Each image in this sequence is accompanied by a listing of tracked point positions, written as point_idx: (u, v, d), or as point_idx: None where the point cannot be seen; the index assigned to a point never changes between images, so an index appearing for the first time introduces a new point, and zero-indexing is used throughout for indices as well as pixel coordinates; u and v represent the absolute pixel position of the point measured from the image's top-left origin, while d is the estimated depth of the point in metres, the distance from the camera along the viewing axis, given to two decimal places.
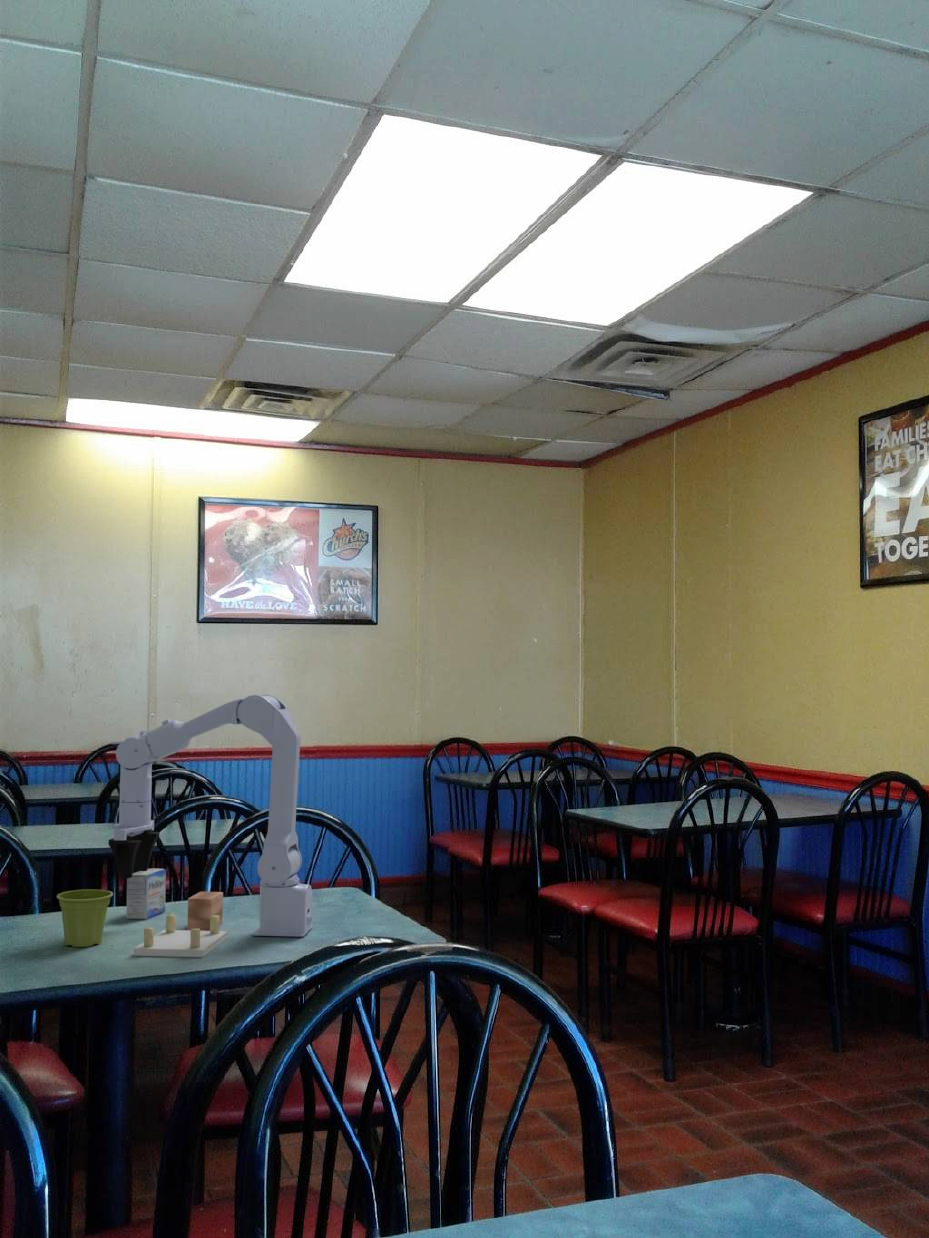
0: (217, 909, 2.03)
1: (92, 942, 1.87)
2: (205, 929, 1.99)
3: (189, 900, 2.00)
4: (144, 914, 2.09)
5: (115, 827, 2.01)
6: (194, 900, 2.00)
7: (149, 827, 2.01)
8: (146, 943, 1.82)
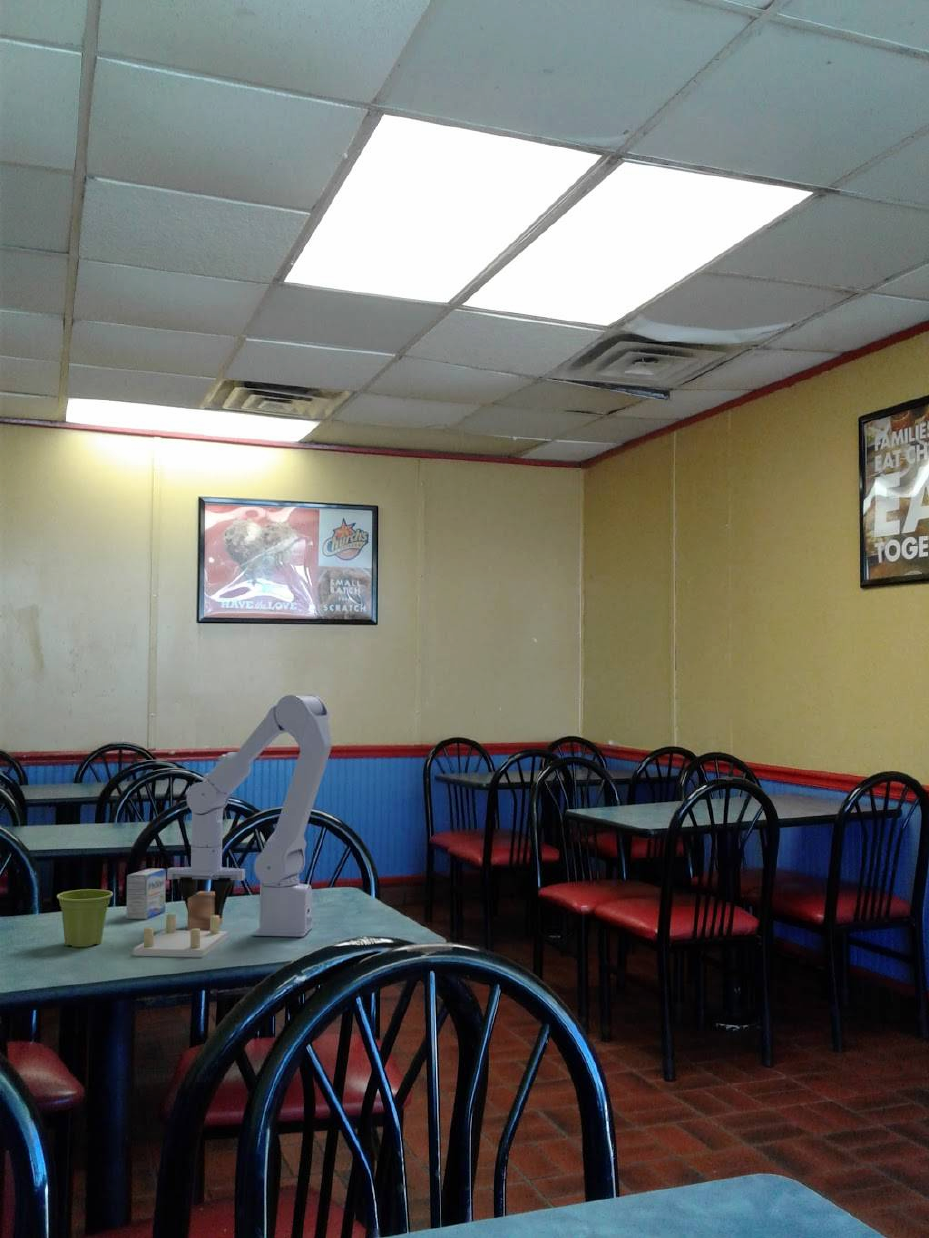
0: None
1: (92, 942, 1.87)
2: (205, 928, 1.99)
3: (189, 899, 2.00)
4: (144, 914, 2.09)
5: None
6: (194, 899, 2.00)
7: (198, 873, 2.01)
8: (146, 943, 1.82)
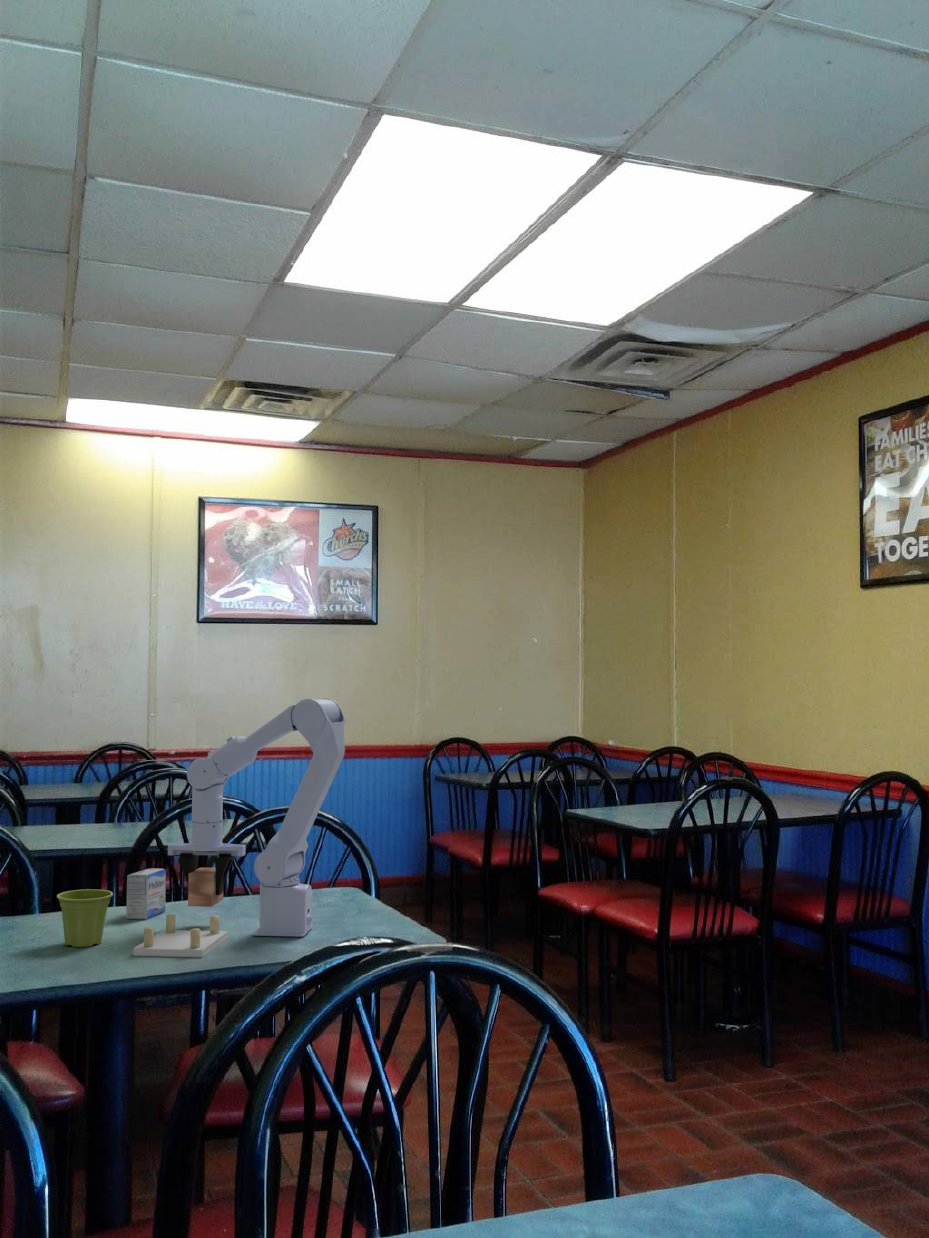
0: None
1: (92, 942, 1.87)
2: (206, 904, 2.00)
3: (190, 875, 2.00)
4: (144, 914, 2.09)
5: None
6: (195, 875, 2.00)
7: (199, 849, 2.01)
8: (146, 943, 1.82)
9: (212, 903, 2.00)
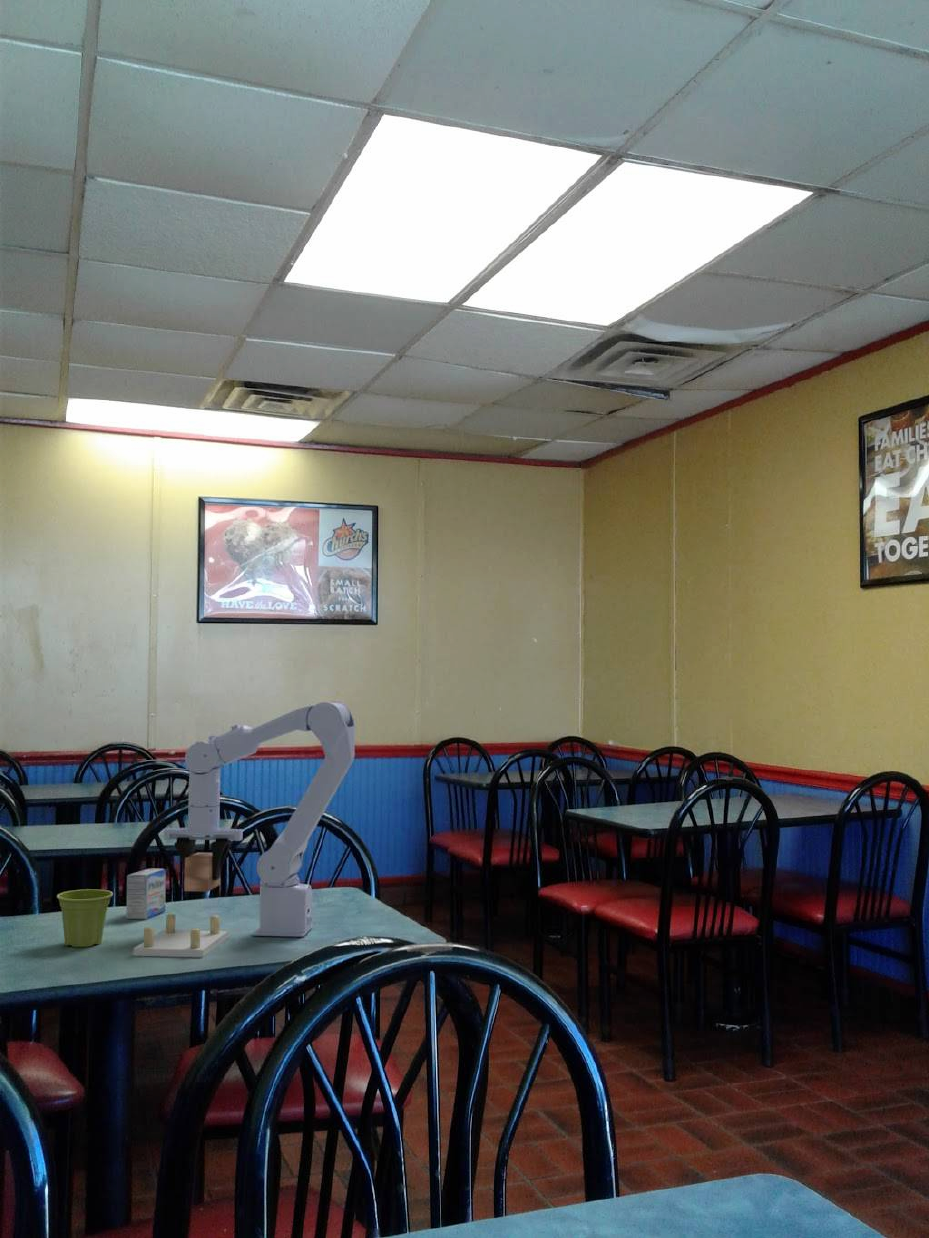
0: None
1: (92, 942, 1.87)
2: (202, 889, 1.97)
3: (186, 859, 1.98)
4: (144, 914, 2.09)
5: None
6: (191, 859, 1.98)
7: (196, 833, 1.99)
8: (146, 943, 1.82)
9: (209, 888, 1.98)
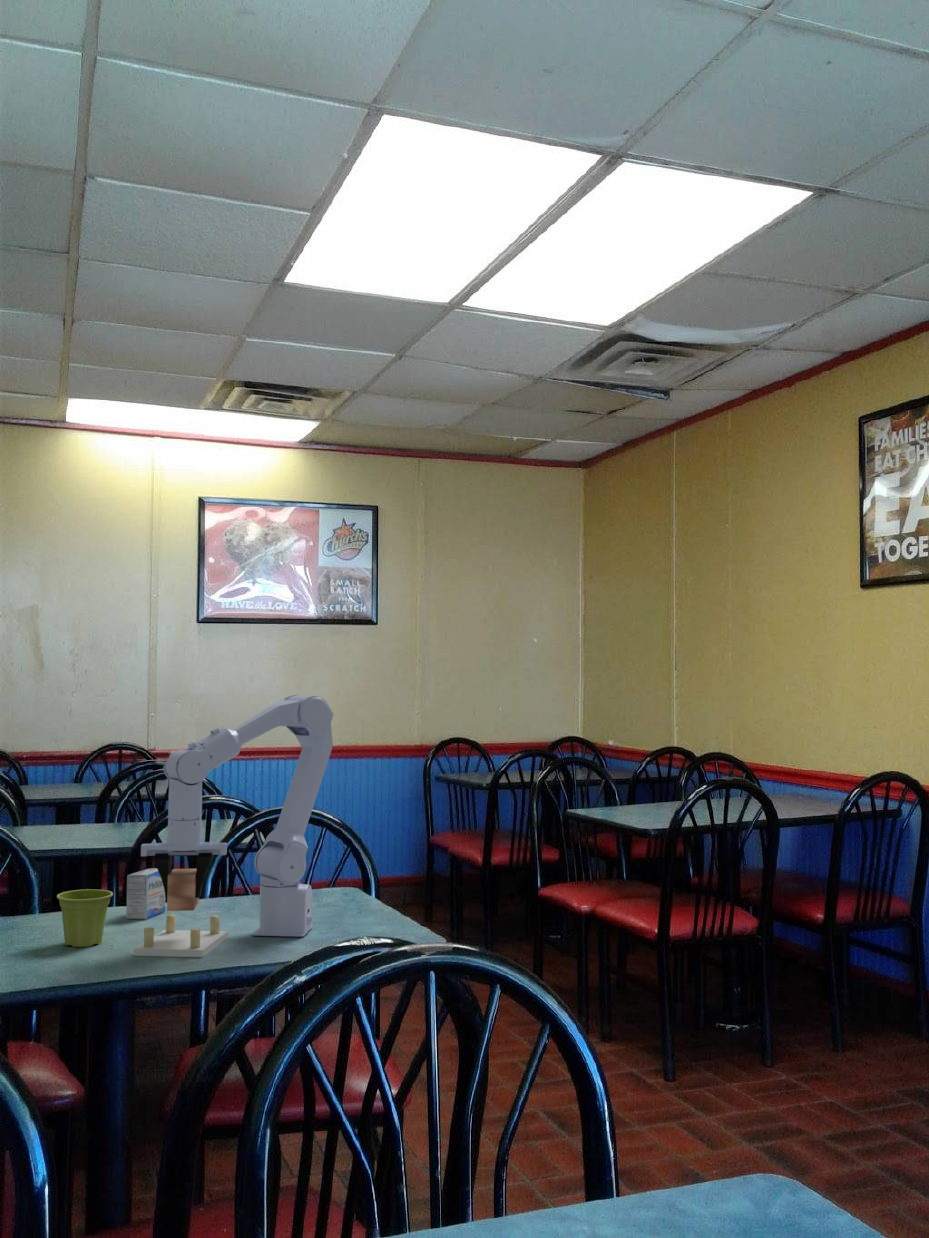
0: None
1: (92, 942, 1.87)
2: (187, 908, 1.85)
3: (169, 877, 1.85)
4: (144, 914, 2.09)
5: None
6: (175, 877, 1.85)
7: (179, 848, 1.85)
8: (146, 943, 1.82)
9: (194, 907, 1.85)
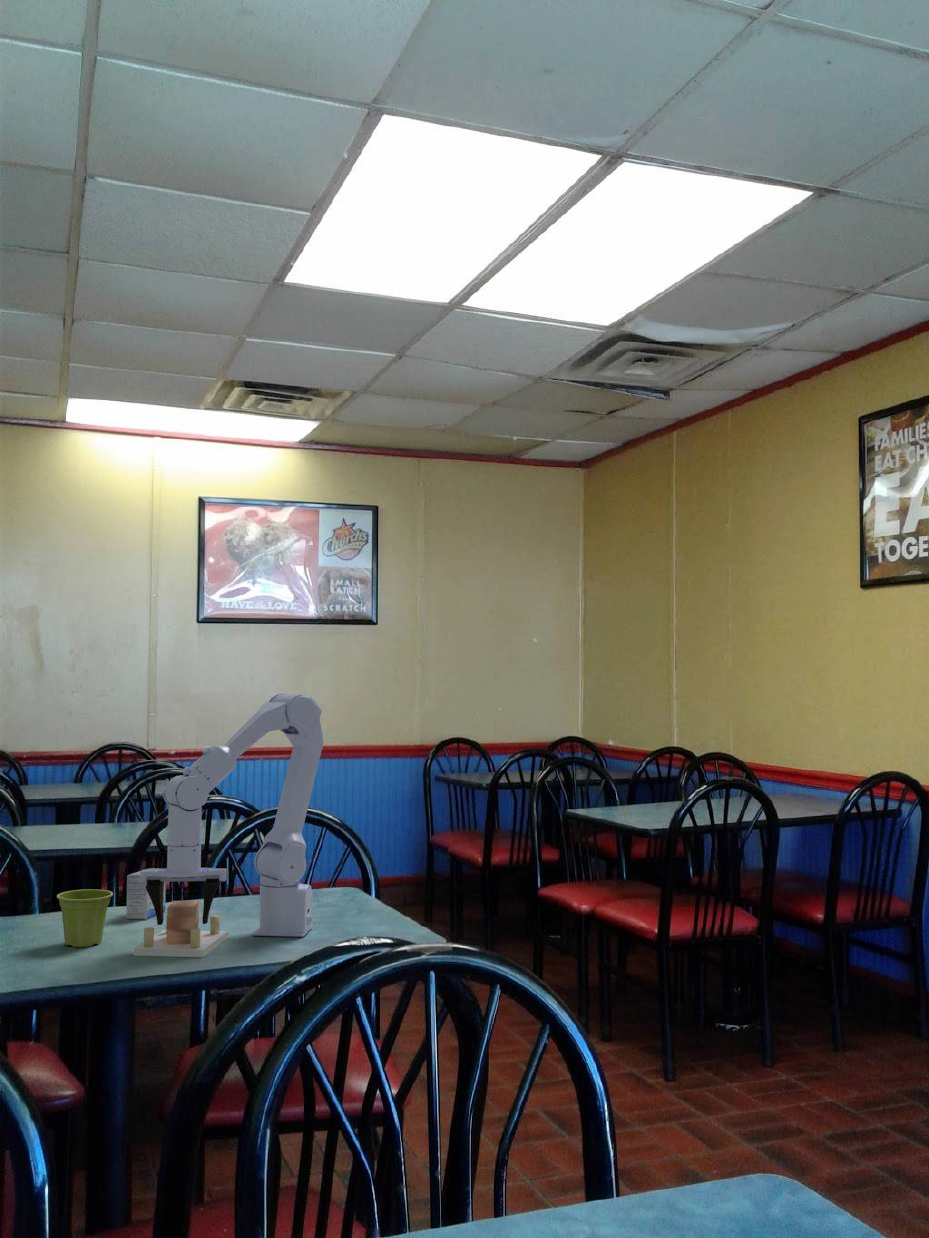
0: (196, 919, 1.88)
1: (92, 942, 1.87)
2: (187, 941, 1.84)
3: (168, 910, 1.84)
4: (144, 914, 2.09)
5: None
6: (174, 910, 1.84)
7: (179, 875, 1.85)
8: (146, 943, 1.82)
9: None
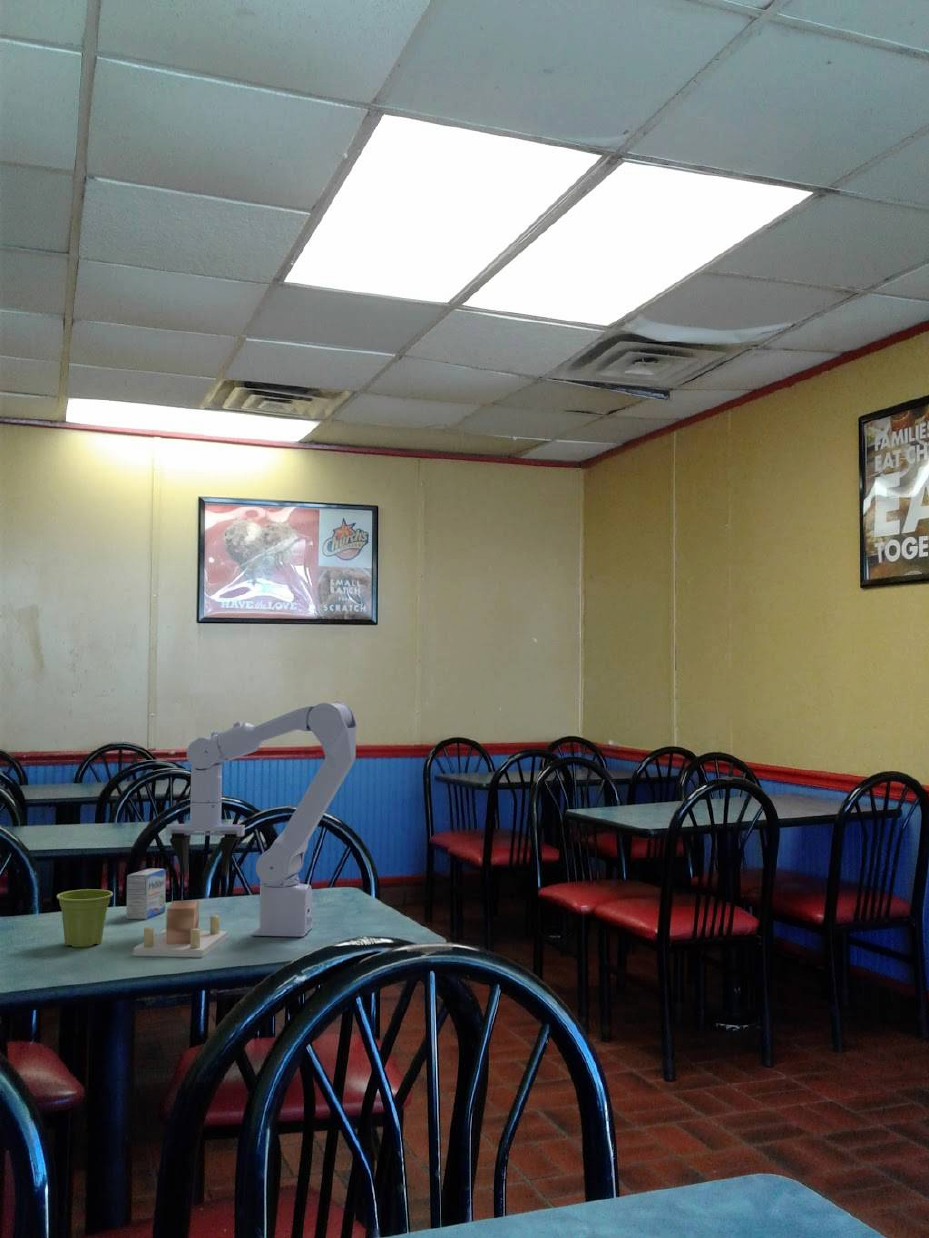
0: (196, 919, 1.88)
1: (92, 942, 1.87)
2: (187, 941, 1.84)
3: (168, 910, 1.84)
4: (144, 914, 2.09)
5: None
6: (174, 910, 1.84)
7: (198, 829, 1.99)
8: (146, 943, 1.82)
9: None
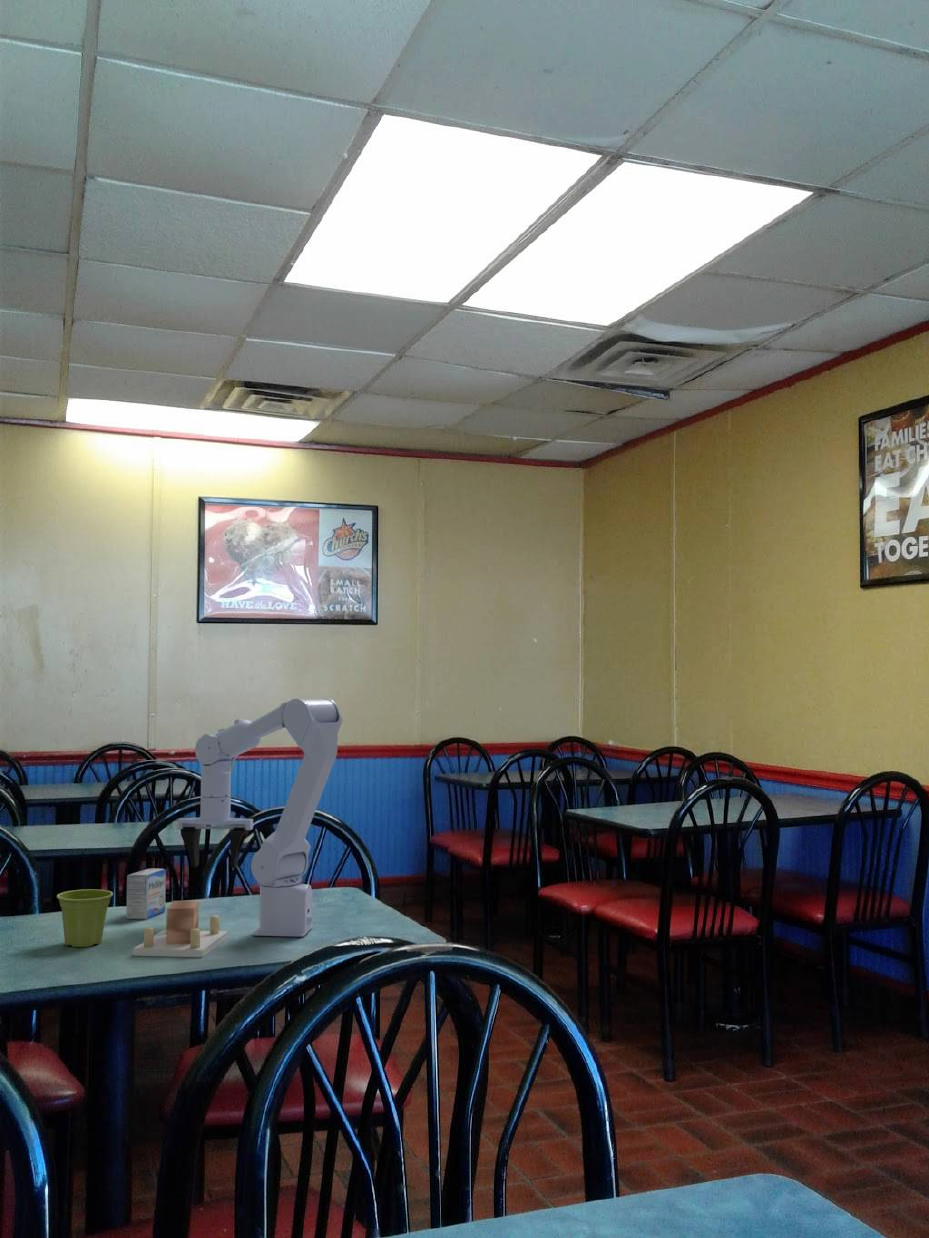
0: (196, 919, 1.88)
1: (92, 942, 1.87)
2: (187, 941, 1.84)
3: (168, 910, 1.84)
4: (144, 914, 2.09)
5: None
6: (174, 910, 1.84)
7: (208, 823, 2.06)
8: (146, 943, 1.82)
9: None
